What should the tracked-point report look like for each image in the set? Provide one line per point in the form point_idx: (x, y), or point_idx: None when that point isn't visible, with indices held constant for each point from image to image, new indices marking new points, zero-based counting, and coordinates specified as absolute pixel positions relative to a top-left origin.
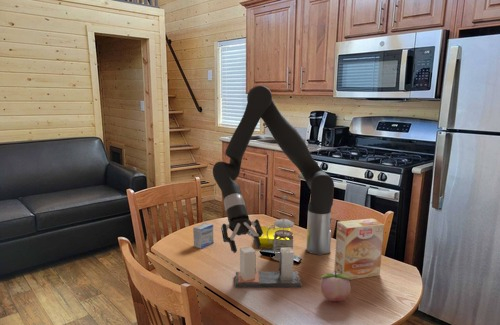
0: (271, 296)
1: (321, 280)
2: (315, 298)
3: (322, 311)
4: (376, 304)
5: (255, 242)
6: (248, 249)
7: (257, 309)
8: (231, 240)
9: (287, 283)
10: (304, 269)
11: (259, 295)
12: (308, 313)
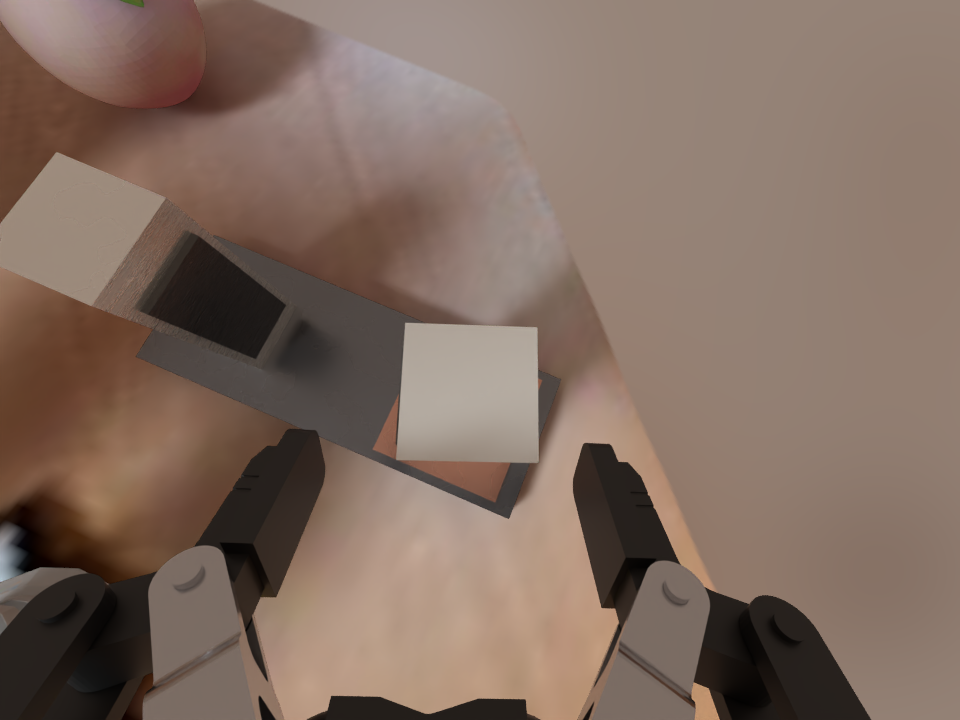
0: (416, 238)
1: (141, 29)
2: (235, 144)
3: (278, 64)
4: None
5: (292, 521)
6: (460, 392)
7: (524, 179)
8: (677, 564)
9: (284, 264)
10: (58, 409)
11: (467, 268)
12: (340, 77)
